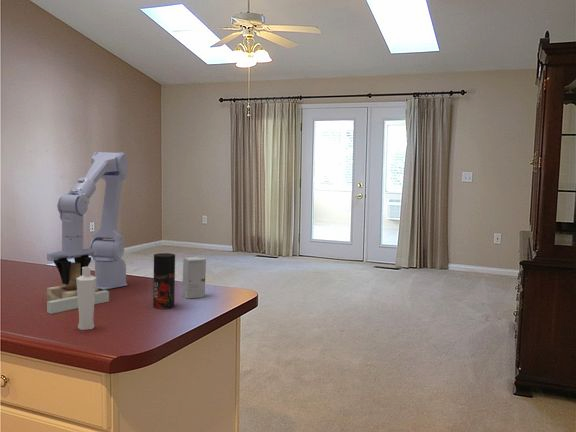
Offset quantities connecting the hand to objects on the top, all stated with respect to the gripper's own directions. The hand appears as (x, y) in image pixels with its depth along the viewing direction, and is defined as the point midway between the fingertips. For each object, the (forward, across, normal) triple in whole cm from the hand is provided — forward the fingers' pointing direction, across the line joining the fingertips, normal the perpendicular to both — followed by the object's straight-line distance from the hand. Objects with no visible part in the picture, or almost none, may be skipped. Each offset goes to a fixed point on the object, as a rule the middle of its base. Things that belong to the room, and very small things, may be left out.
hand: (72, 282), depth 151 cm
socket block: (+6, 0, 0) cm, 6 cm away
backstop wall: (+6, +2, +6) cm, 9 cm away
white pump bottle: (+6, +12, +24) cm, 27 cm away
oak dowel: (+2, 0, 0) cm, 2 cm away
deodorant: (+6, -14, +23) cm, 28 cm away
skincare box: (+6, -28, +21) cm, 35 cm away
